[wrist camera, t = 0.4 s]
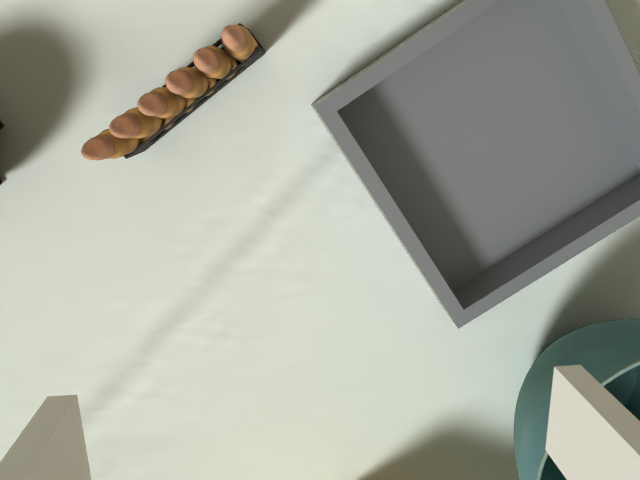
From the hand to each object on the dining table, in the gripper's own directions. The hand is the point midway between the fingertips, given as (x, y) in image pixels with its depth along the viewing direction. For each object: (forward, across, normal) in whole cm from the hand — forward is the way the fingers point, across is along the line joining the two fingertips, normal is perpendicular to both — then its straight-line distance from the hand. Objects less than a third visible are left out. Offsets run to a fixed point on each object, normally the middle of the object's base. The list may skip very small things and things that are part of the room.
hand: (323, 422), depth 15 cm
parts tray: (+25, +14, +4) cm, 29 cm away
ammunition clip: (+26, -6, +8) cm, 28 cm away
